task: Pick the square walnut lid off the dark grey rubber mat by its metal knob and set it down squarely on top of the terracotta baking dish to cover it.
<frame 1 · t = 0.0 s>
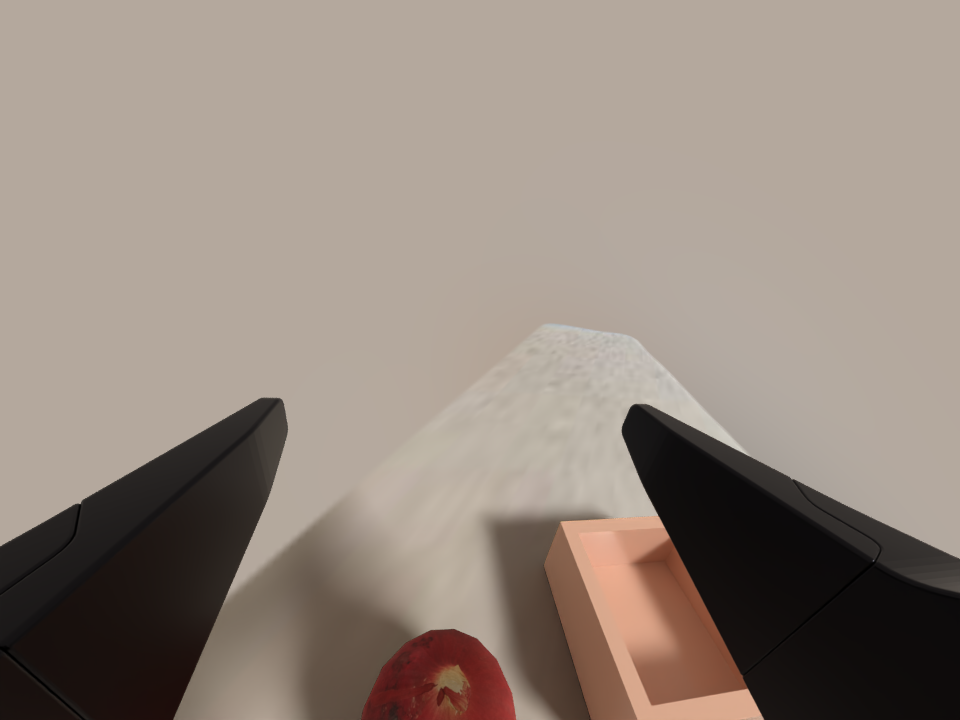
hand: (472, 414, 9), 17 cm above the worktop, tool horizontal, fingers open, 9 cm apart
terracotta dish: (642, 638, 20), on the worktop
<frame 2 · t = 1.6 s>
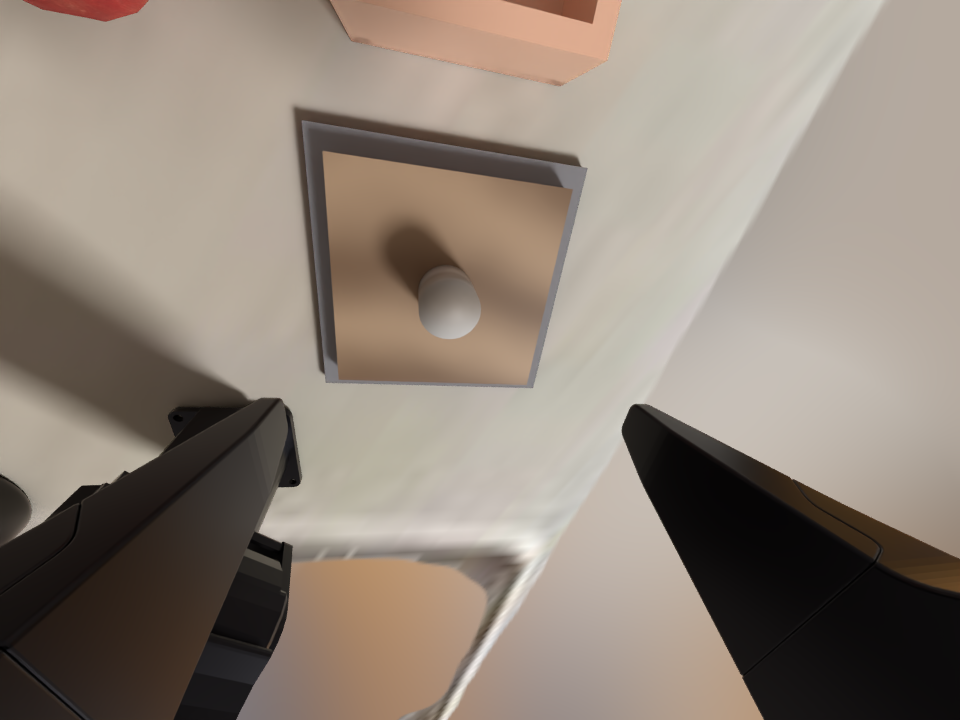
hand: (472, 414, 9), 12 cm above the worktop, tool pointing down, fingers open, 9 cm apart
walnut lid: (444, 285, 19), point 1 cm above the worktop, touching rubber mat
rubber mat: (443, 282, 19), on the worktop
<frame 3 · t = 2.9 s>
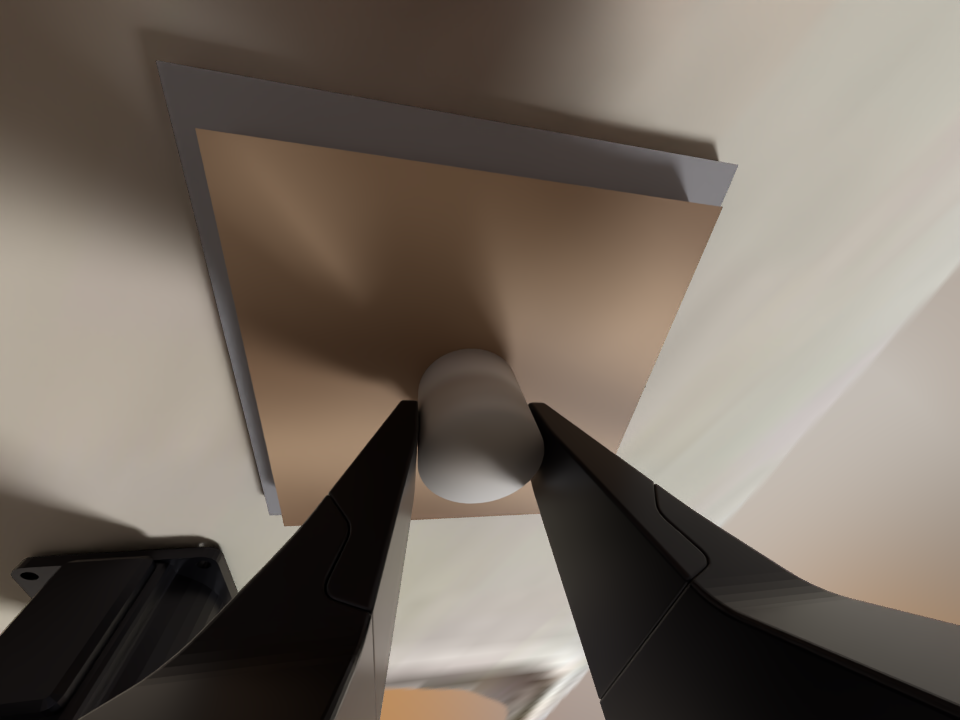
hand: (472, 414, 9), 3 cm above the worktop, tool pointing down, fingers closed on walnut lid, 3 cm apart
walnut lid: (463, 370, 11), point 1 cm above the worktop, touching gripper, rubber mat
rubber mat: (461, 360, 11), on the worktop
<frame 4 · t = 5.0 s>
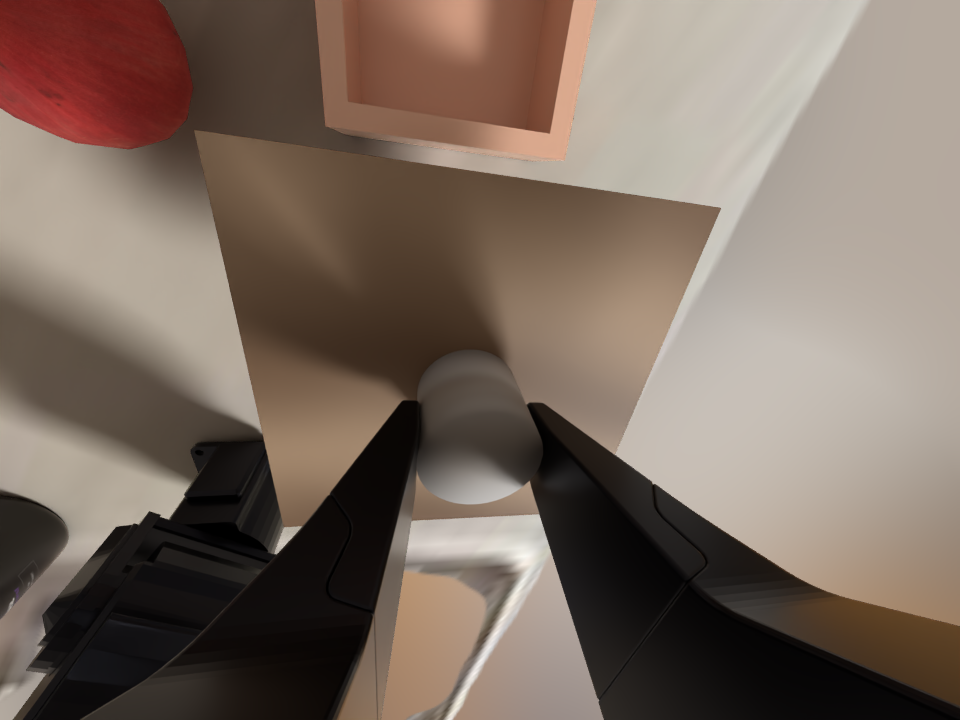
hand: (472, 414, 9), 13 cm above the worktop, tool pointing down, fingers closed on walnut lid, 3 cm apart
walnut lid: (462, 371, 11), point 11 cm above the worktop, touching gripper
supplement bottle: (13, 522, 24), on the worktop
onion: (151, 68, 14), on the worktop
terracotta dish: (451, 26, 15), on the worktop
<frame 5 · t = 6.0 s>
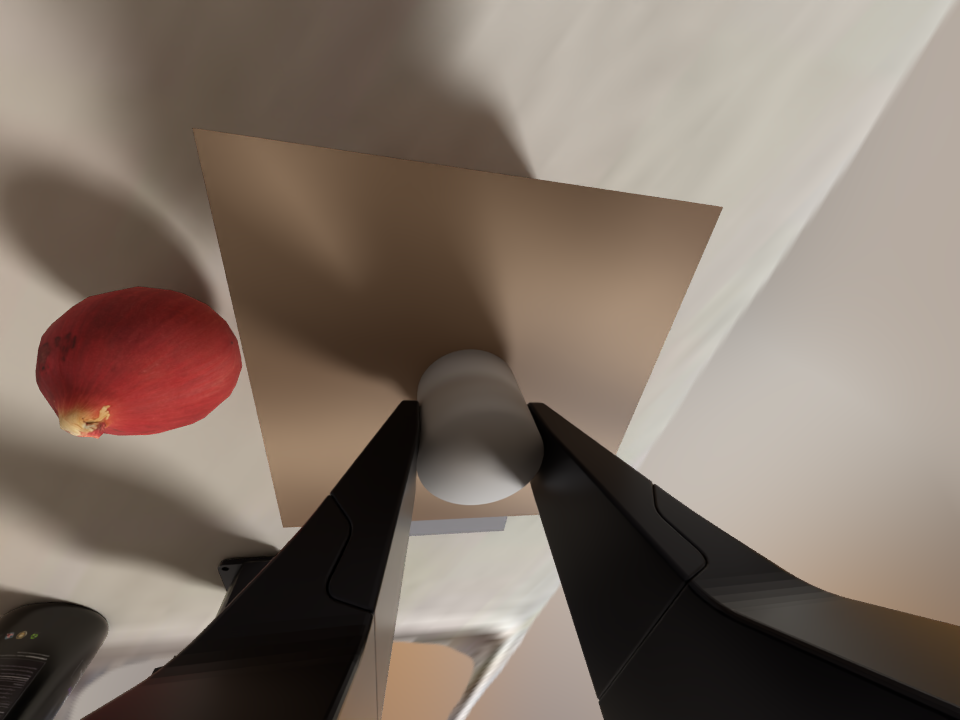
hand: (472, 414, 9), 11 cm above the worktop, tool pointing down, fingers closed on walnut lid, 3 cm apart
walnut lid: (463, 371, 11), point 9 cm above the worktop, touching gripper
supplement bottle: (62, 619, 27), on the worktop
onion: (205, 321, 17), on the worktop
rubber mat: (429, 471, 25), on the worktop
when the fingers open (8 cm above the worktop, at t = 6.6 s): walnut lid drops 1 cm, resting on terracotta dish.
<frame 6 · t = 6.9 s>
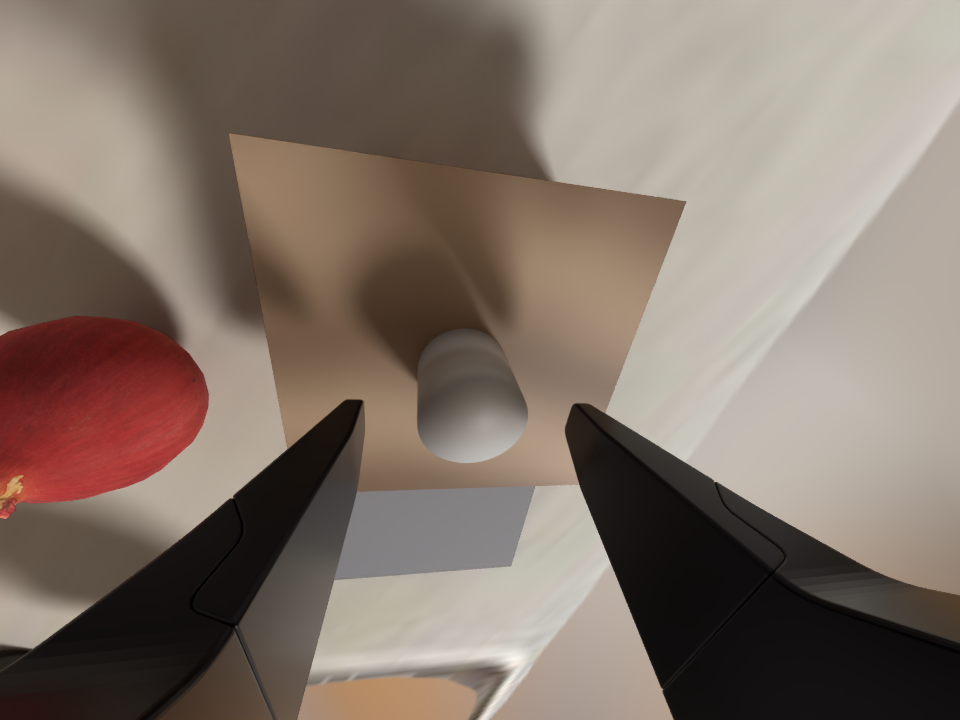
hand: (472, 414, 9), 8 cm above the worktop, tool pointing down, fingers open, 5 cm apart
walnut lid: (459, 350, 12), point 4 cm above the worktop, touching terracotta dish
supplement bottle: (25, 666, 25), on the worktop
onion: (169, 349, 15), on the worktop
rubber mat: (430, 506, 22), on the worktop
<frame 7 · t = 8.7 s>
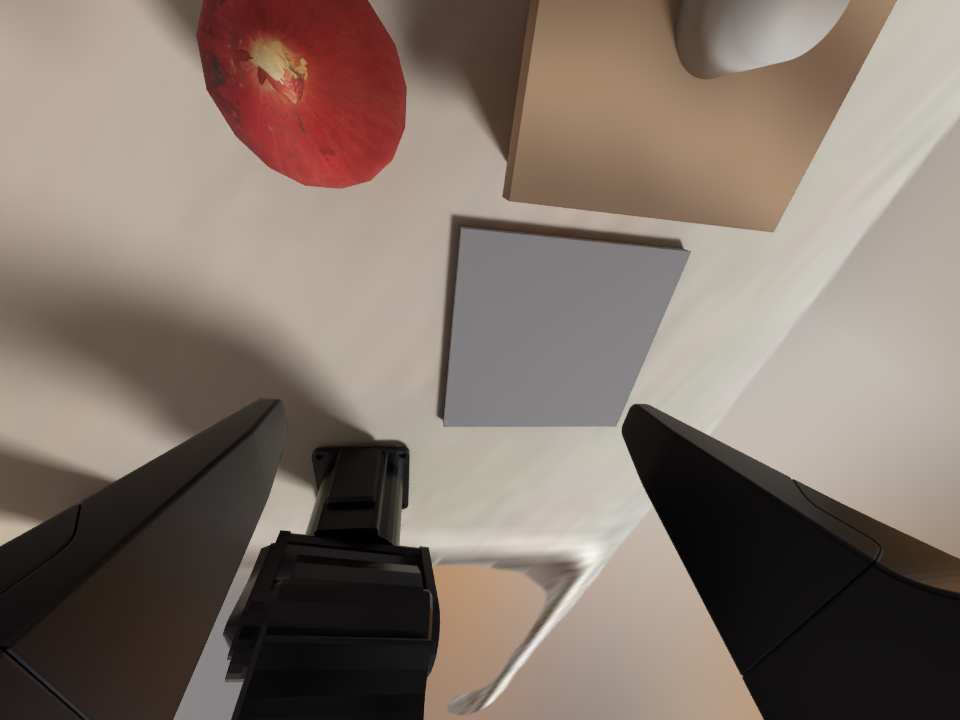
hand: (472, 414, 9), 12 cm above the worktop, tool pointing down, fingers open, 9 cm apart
walnut lid: (694, 29, 11), point 4 cm above the worktop, touching terracotta dish
onion: (339, 102, 14), on the worktop
rubber mat: (551, 343, 22), on the worktop
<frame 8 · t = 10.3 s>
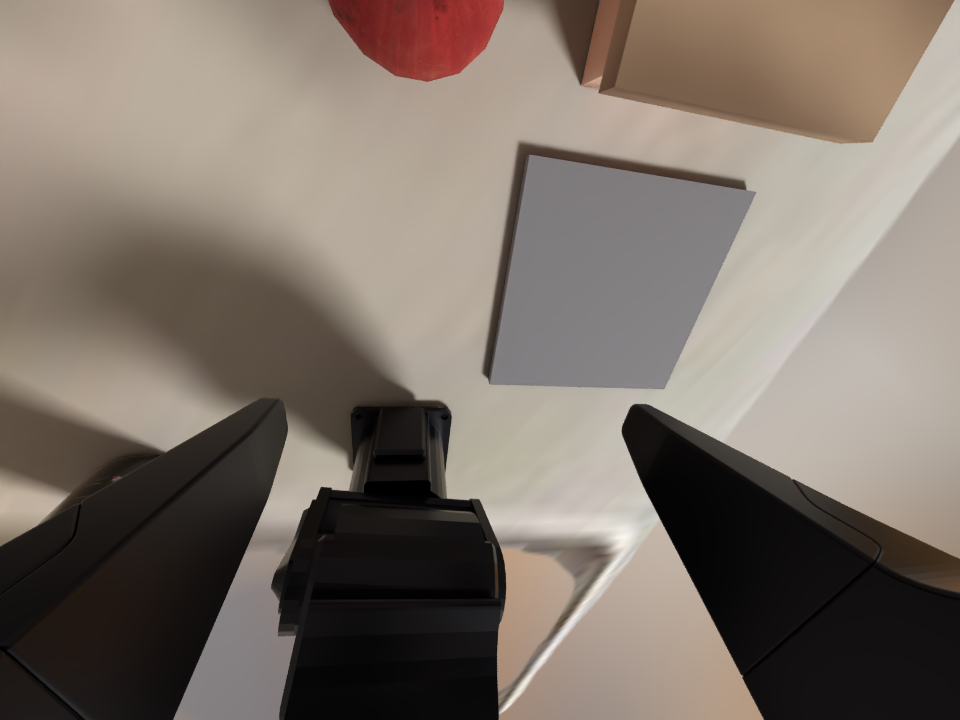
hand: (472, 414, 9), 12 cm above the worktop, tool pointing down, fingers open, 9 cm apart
supplement bottle: (161, 485, 24), on the worktop
onion: (415, 7, 14), on the worktop
rubber mat: (606, 293, 21), on the worktop
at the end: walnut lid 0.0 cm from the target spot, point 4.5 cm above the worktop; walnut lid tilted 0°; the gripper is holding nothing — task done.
